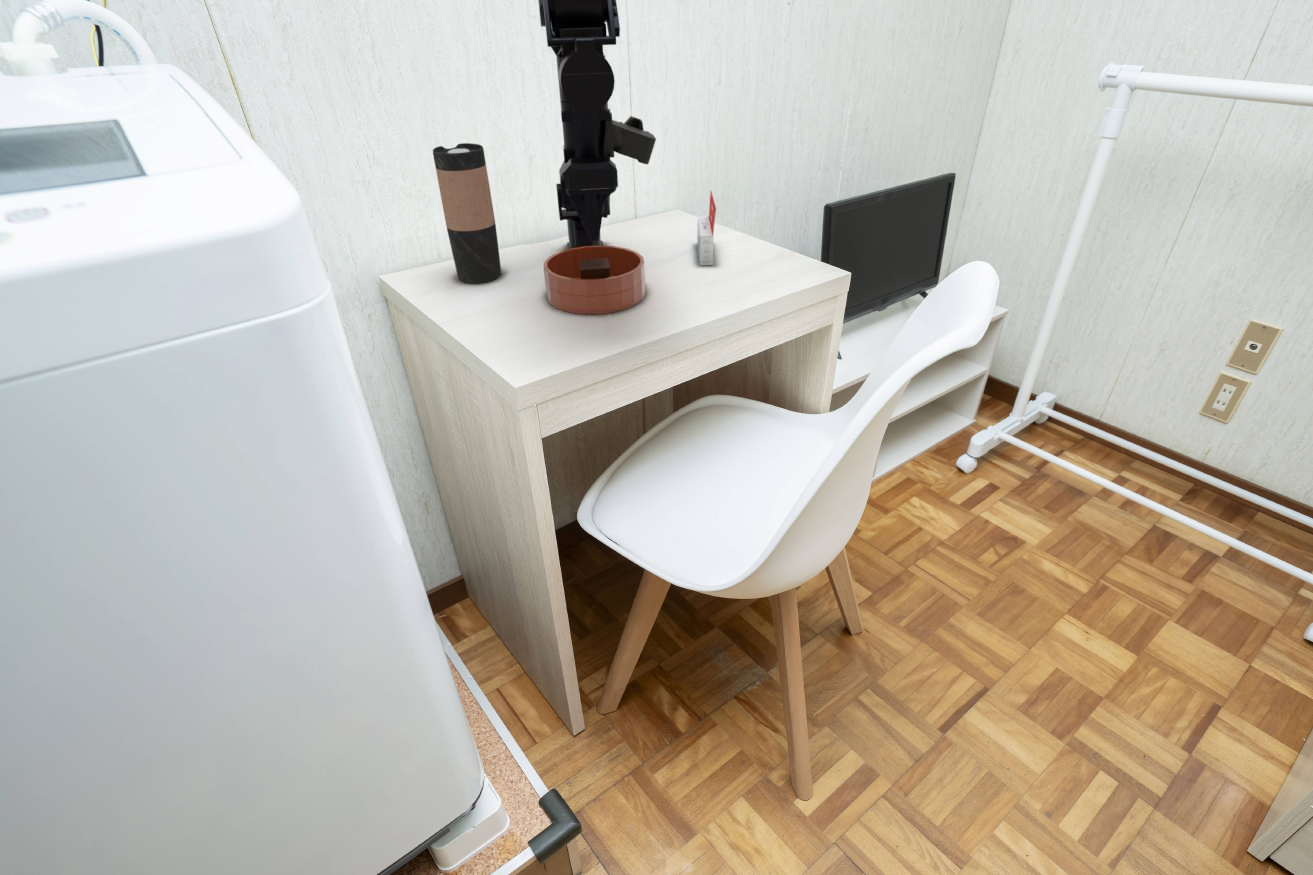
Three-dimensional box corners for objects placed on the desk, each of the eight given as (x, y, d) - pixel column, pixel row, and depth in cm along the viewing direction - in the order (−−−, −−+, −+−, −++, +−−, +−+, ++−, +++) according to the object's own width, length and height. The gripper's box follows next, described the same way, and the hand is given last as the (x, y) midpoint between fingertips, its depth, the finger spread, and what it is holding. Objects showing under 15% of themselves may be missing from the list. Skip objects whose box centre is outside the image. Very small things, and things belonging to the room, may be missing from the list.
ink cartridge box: (699, 266, 114) (701, 207, 108) (696, 244, 123) (697, 190, 117) (714, 265, 114) (716, 207, 108) (709, 244, 123) (711, 189, 117)
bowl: (548, 279, 110) (544, 248, 107) (639, 273, 111) (638, 243, 108) (546, 317, 97) (542, 283, 94) (649, 310, 99) (649, 277, 96)
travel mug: (492, 285, 108) (470, 154, 96) (448, 282, 109) (422, 153, 98) (510, 269, 114) (491, 143, 102) (468, 266, 115) (445, 142, 104)
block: (581, 286, 106) (579, 259, 103) (609, 284, 106) (607, 258, 103) (582, 297, 102) (580, 269, 99) (611, 295, 102) (609, 267, 100)
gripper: (659, 107, 73) (661, 248, 82) (642, 89, 89) (645, 209, 97) (558, 111, 72) (570, 253, 81) (558, 92, 88) (569, 213, 96)
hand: (593, 230), depth 89 cm, fingers open, 9 cm apart
